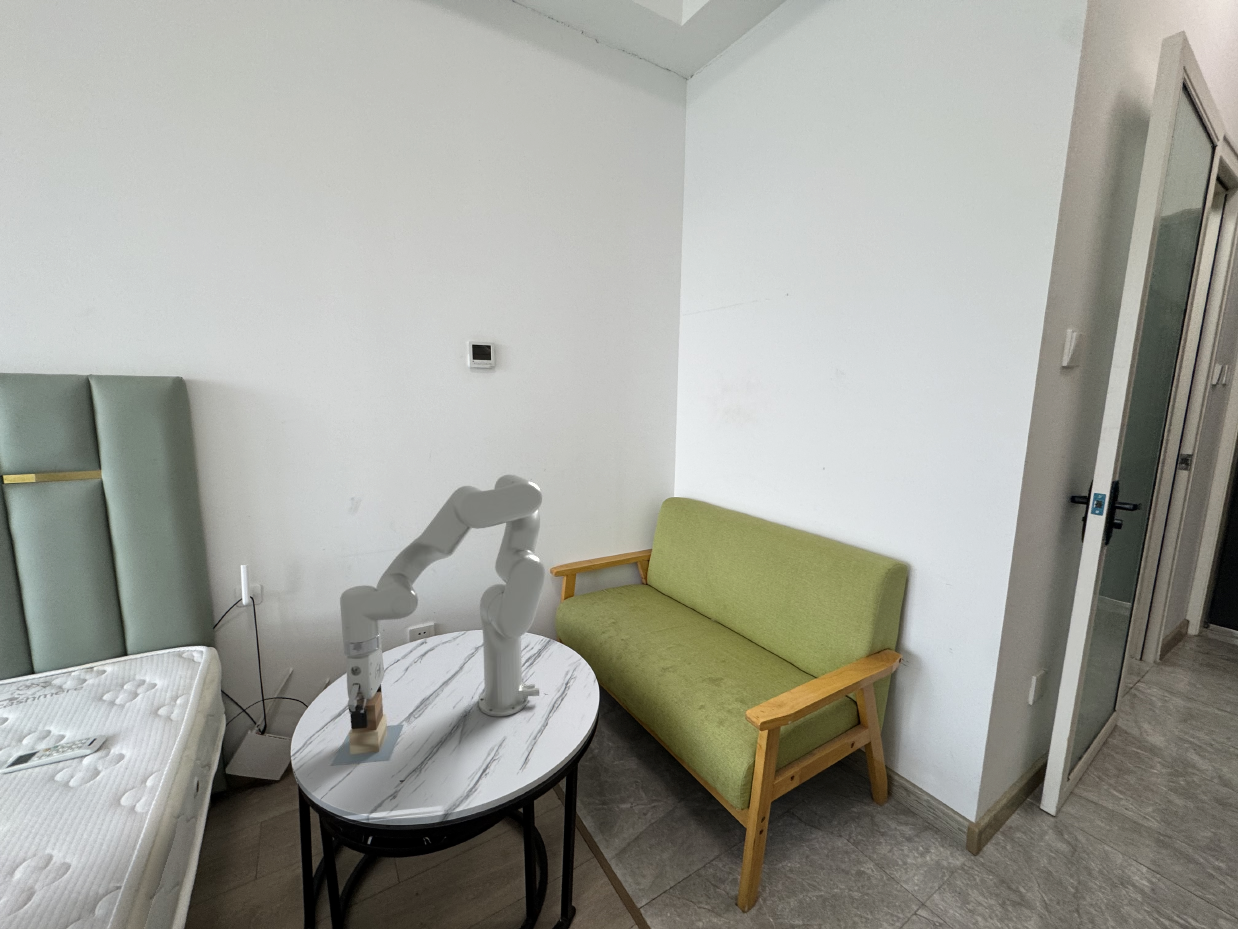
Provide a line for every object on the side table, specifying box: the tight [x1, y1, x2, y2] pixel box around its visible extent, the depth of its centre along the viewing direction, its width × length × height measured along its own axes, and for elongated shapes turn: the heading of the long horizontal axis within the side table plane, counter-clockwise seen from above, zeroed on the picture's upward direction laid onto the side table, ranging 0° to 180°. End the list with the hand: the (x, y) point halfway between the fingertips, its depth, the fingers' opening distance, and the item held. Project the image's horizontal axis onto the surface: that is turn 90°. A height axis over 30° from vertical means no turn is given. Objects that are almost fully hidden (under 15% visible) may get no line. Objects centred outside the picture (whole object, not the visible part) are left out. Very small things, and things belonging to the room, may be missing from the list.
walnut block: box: [351, 691, 384, 732], centre depth 114 cm, size 5×5×6 cm
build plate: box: [330, 723, 405, 767], centre depth 115 cm, size 12×12×1 cm
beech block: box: [348, 713, 388, 754], centre depth 114 cm, size 6×6×5 cm
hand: (367, 713), depth 114 cm, fingers open, 9 cm apart
